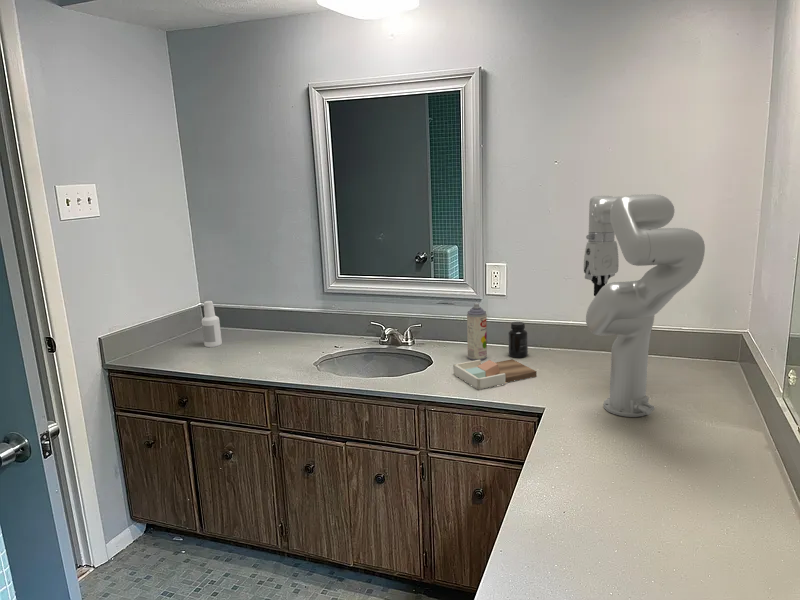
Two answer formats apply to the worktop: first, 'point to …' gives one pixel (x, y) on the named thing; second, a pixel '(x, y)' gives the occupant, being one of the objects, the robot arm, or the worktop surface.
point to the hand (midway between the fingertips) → (599, 296)
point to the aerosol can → (477, 333)
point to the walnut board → (515, 370)
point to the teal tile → (477, 372)
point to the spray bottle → (211, 326)
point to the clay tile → (489, 368)
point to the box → (473, 380)
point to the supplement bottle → (518, 340)
